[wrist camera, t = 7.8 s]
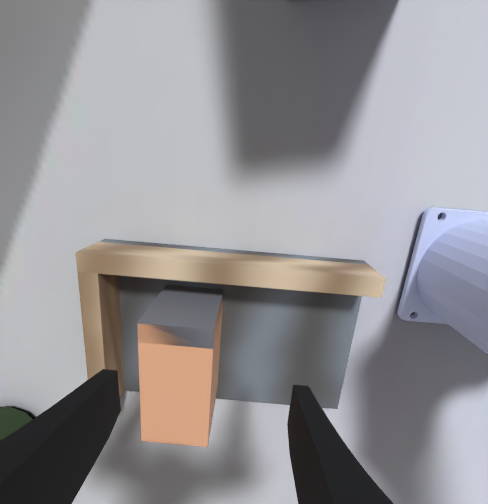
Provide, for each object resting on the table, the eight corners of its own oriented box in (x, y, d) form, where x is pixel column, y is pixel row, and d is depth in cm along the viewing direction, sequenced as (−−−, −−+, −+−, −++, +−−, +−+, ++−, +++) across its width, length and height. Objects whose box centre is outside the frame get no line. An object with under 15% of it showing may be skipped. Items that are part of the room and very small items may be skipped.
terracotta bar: (217, 385, 21) (207, 446, 17) (166, 380, 21) (141, 440, 17) (223, 289, 19) (214, 329, 14) (166, 284, 19) (137, 322, 14)
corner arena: (363, 260, 19) (386, 278, 16) (334, 400, 22) (347, 438, 19) (104, 239, 19) (75, 252, 16) (114, 381, 23) (91, 415, 19)
